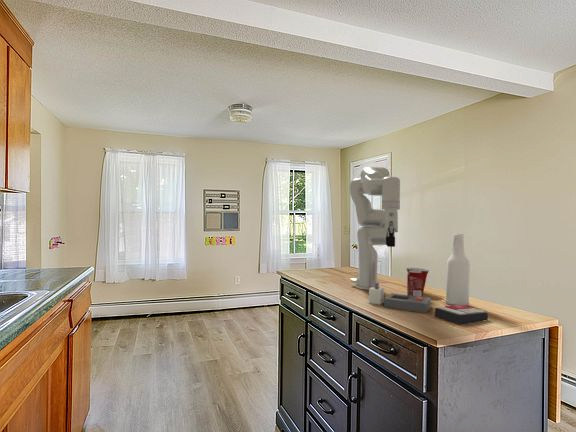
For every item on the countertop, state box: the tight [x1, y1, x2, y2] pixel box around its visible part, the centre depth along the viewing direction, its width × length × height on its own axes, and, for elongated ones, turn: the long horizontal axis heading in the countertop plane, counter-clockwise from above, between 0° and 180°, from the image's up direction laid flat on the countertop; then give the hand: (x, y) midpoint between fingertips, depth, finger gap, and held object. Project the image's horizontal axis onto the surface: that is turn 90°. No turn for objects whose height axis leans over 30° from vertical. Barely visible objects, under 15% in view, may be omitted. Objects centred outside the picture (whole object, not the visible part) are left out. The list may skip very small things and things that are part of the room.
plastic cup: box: [405, 267, 430, 293], centre depth 175 cm, size 11×11×12 cm
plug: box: [368, 282, 385, 305], centre depth 153 cm, size 5×5×8 cm
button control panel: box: [434, 305, 489, 326], centre depth 131 cm, size 11×4×15 cm
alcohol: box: [445, 233, 470, 306], centre depth 153 cm, size 9×9×30 cm
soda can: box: [406, 270, 424, 297], centre depth 165 cm, size 7×7×12 cm
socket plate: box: [383, 292, 432, 314], centre depth 147 cm, size 16×12×4 cm
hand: (390, 246), depth 153 cm, fingers open, 9 cm apart
